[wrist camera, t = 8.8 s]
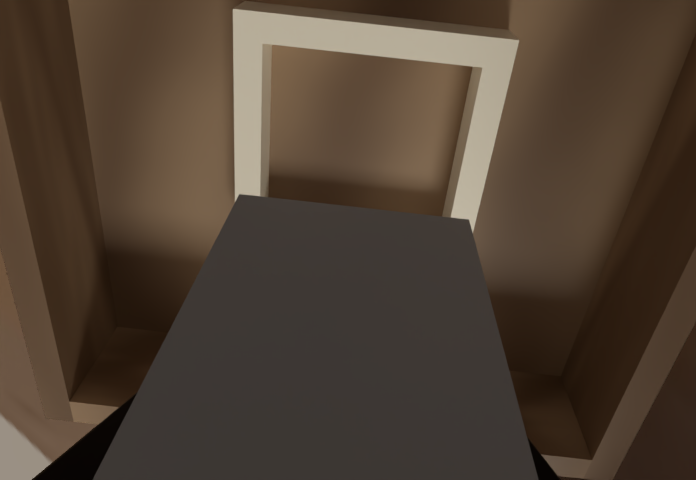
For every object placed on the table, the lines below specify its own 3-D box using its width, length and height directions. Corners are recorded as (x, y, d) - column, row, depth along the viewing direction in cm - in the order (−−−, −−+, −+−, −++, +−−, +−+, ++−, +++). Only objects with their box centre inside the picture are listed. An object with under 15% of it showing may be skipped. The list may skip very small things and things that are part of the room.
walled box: (813, -216, 14) (1008, -272, 9) (571, 379, 24) (611, 481, 20) (3, -303, 14) (-171, -400, 9) (106, 327, 24) (45, 418, 20)
